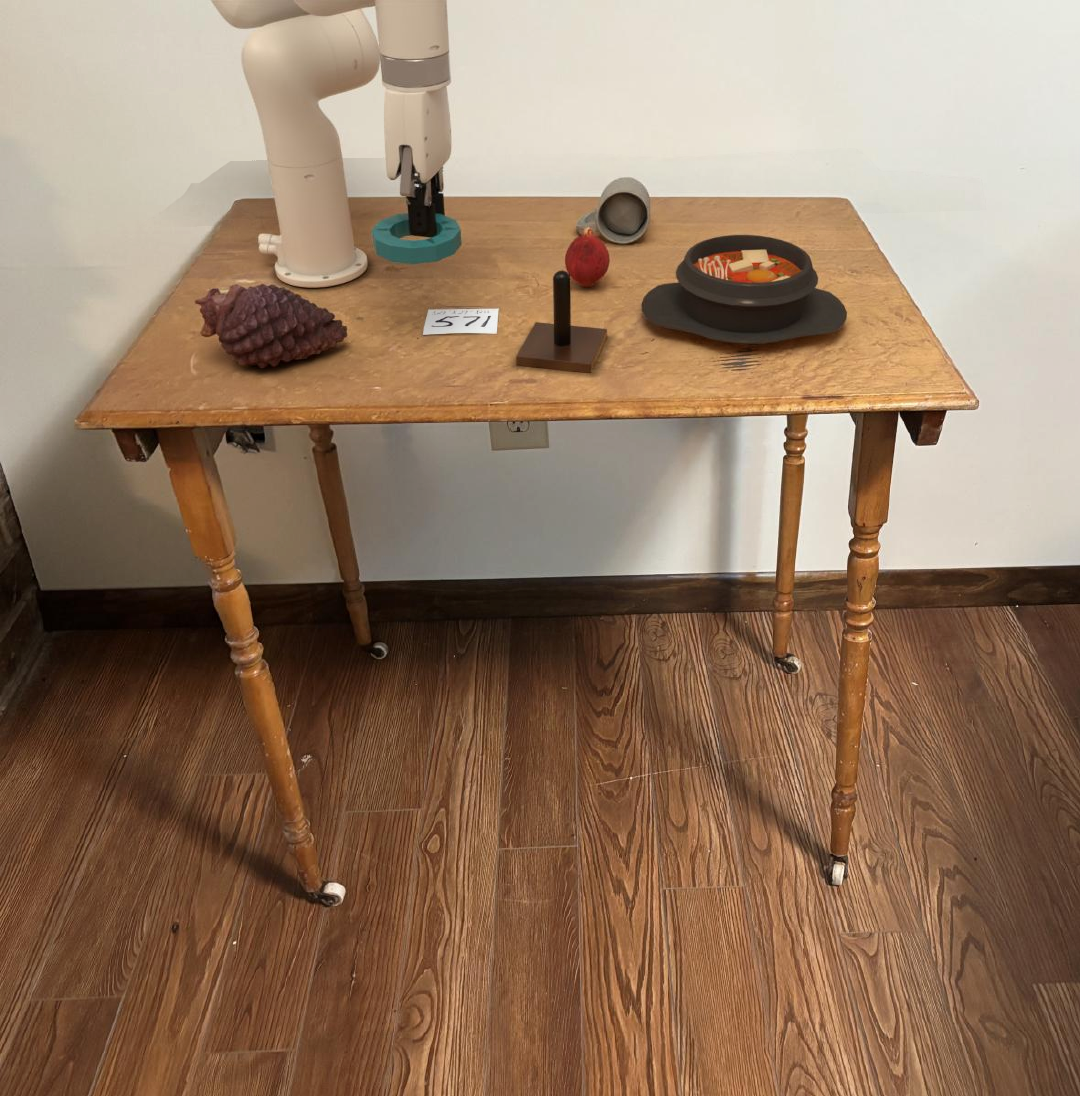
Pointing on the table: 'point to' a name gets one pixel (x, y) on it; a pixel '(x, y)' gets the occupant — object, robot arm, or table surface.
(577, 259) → the onion
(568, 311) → the stand
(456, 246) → the ring
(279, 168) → the robot arm
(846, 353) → the table surface
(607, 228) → the ceramic mug
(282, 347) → the pine cone
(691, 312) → the casserole
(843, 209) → the table surface
